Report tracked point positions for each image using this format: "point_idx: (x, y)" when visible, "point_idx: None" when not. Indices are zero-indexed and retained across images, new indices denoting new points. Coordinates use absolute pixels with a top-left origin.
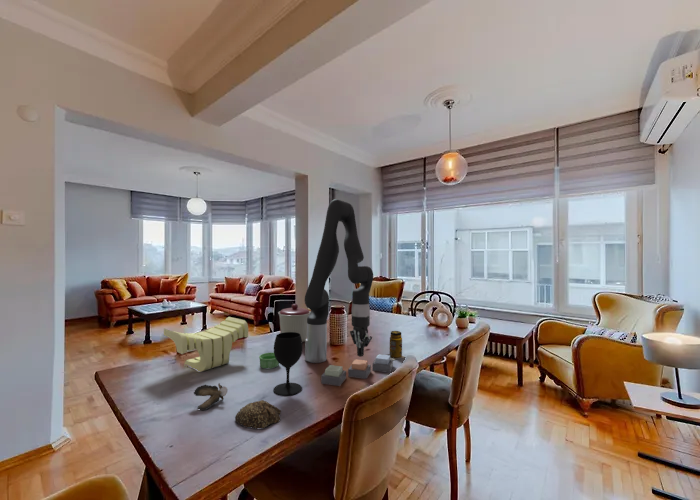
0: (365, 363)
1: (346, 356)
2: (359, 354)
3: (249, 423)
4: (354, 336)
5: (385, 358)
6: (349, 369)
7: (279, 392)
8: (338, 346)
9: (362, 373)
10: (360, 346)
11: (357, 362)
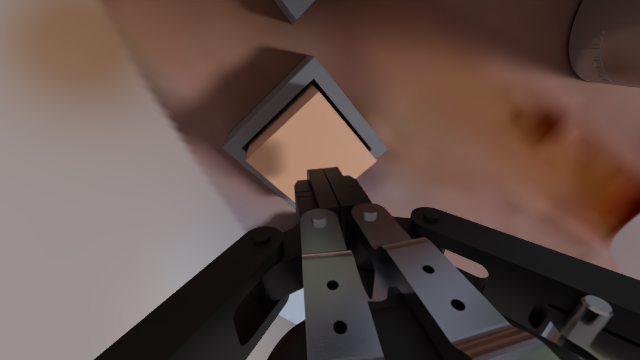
0: (272, 181)
1: (518, 189)
2: (308, 177)
3: None
4: (514, 287)
5: (289, 305)
6: (308, 63)
7: None
8: (619, 213)
9: (242, 125)
10: (301, 227)
11: (316, 143)
